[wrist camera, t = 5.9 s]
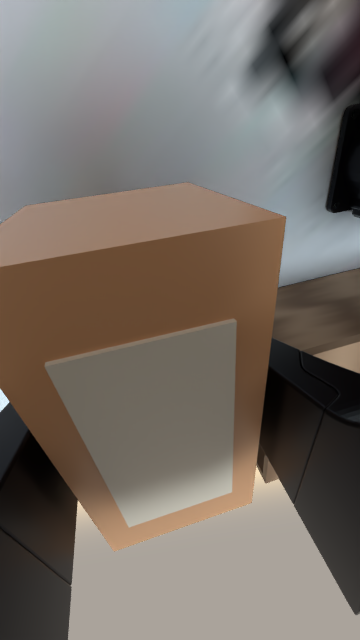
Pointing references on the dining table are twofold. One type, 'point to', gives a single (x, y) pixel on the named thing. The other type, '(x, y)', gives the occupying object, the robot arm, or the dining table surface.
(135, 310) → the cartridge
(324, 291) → the box
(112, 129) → the dining table surface
